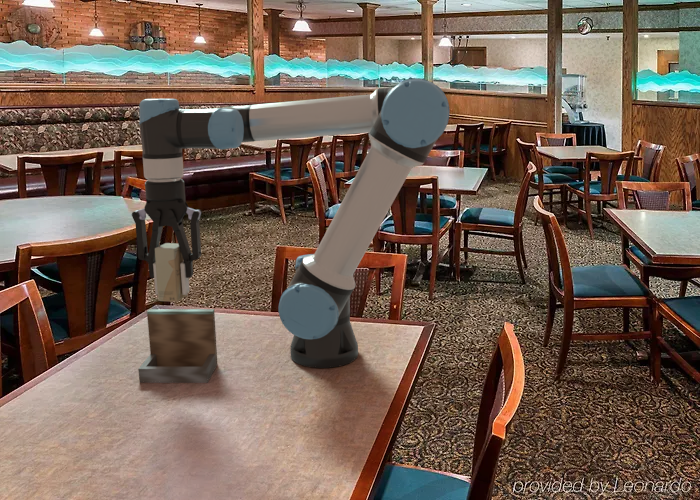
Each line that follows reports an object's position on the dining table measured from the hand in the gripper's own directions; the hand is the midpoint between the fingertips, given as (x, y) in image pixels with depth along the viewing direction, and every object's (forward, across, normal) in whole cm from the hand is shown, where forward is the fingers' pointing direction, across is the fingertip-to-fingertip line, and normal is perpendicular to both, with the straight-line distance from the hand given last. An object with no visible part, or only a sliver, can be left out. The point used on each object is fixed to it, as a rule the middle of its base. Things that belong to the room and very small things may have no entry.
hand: (172, 292), depth 139 cm
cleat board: (+18, 0, -1) cm, 18 cm away
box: (+1, 0, 0) cm, 1 cm away
